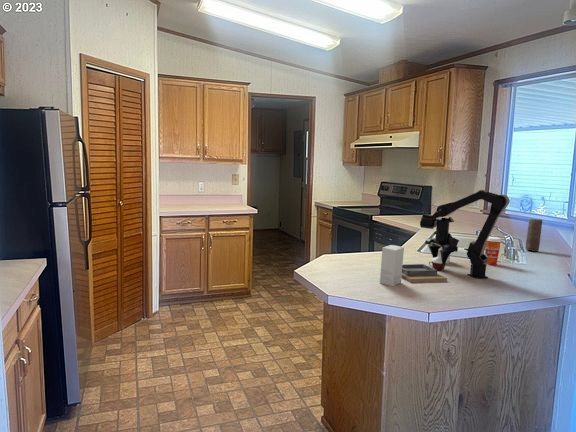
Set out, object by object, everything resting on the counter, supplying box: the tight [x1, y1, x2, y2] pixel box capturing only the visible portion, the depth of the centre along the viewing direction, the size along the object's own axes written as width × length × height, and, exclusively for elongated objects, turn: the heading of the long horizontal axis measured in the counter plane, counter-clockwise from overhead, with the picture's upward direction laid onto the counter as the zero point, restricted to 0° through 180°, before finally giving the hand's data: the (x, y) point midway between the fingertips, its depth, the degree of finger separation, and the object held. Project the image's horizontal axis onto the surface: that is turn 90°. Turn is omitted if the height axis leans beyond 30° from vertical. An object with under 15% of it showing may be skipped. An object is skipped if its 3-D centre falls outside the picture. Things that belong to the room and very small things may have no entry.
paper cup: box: [484, 236, 502, 266], centre depth 227 cm, size 8×8×14 cm
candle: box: [524, 218, 543, 252], centre depth 268 cm, size 8×7×20 cm
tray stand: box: [401, 263, 448, 283], centre depth 198 cm, size 22×18×4 cm
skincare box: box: [379, 244, 405, 287], centre depth 182 cm, size 8×7×16 cm
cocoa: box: [428, 256, 447, 271], centre depth 211 cm, size 10×6×12 cm, turn 54°
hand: (439, 262), depth 211 cm, fingers closed on cocoa, 7 cm apart
